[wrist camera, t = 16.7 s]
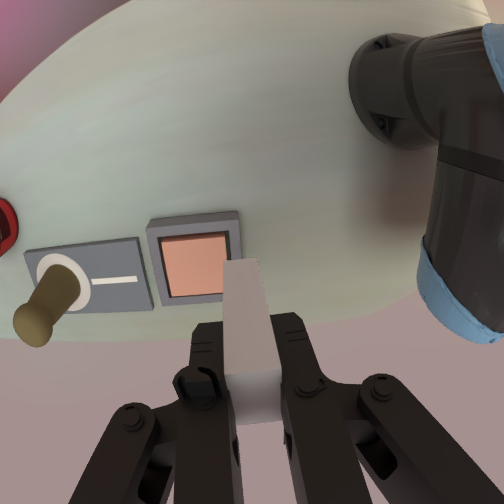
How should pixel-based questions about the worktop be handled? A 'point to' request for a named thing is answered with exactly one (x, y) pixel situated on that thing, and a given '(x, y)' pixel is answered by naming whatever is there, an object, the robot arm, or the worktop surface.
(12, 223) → the canned food
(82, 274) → the slate board
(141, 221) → the worktop surface
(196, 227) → the button housing
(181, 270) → the button
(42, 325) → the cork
